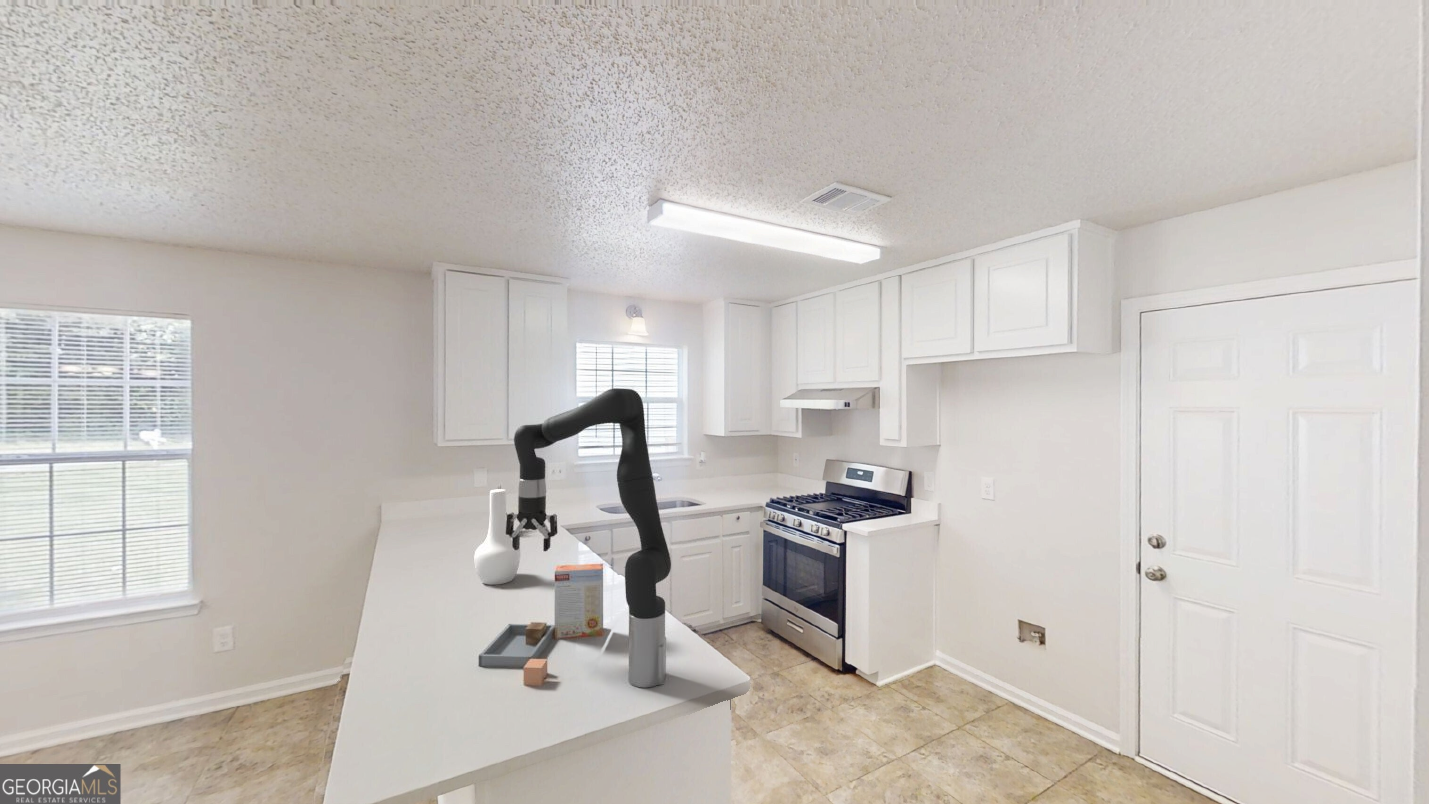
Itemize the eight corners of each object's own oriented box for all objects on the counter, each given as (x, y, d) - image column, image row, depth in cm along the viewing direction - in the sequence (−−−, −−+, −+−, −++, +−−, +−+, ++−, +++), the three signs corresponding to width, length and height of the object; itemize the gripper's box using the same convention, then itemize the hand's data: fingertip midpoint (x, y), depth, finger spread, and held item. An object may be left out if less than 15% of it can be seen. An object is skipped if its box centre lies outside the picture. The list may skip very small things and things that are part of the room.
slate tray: (555, 636, 163) (555, 624, 163) (531, 670, 143) (531, 656, 143) (509, 635, 164) (509, 623, 164) (478, 668, 144) (478, 655, 144)
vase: (525, 582, 210) (525, 491, 210) (479, 590, 201) (479, 495, 200) (514, 570, 224) (514, 485, 224) (470, 577, 215) (470, 489, 214)
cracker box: (603, 629, 168) (603, 562, 168) (602, 638, 162) (603, 568, 162) (556, 632, 166) (556, 564, 166) (553, 641, 160) (554, 570, 160)
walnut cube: (546, 637, 161) (546, 622, 161) (541, 644, 156) (541, 629, 156) (531, 637, 161) (531, 622, 161) (525, 644, 156) (525, 628, 156)
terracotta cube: (547, 676, 141) (547, 659, 140) (541, 685, 136) (541, 667, 136) (530, 676, 141) (530, 658, 141) (523, 685, 136) (523, 667, 136)
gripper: (502, 495, 153) (501, 553, 153) (552, 497, 152) (551, 554, 153) (513, 490, 161) (512, 545, 161) (561, 492, 160) (560, 547, 160)
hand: (531, 550), depth 157 cm, fingers open, 8 cm apart
